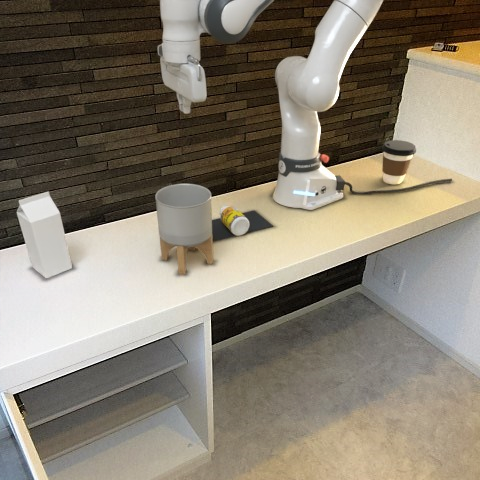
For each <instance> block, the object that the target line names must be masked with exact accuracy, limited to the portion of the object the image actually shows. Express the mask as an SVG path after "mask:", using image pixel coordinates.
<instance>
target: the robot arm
mask: <svg viewBox="0 0 480 480" xmlns="http://www.w3.org/2000/svg"><path fill="white" fill-rule="evenodd" d="M273 2H275V0H159V9H160V11H159V12H160V19H161V22H162V26H163V28H162V29H163V30H162V37H161V39H162V43H161V44H159V45H157V55H158V56H159V57H160V58H159V61H160V62H159V63H160V70H161V78H162V81H163V84H164V86H166V87H167V88H169V89H171V90H172V91H174V92H176V98H177V101H178V104H179V105H178V106H179V111H180V112H182V113H183V114H185V115H187V114H190V113H191V106H192V103H203V102H205V101H206V99H207V96H208V95H207V82H206V81H207V80H206V73H205V69H204V68H203V66H201V65H200V61H201V34H203V33H207V34H208V35H210V36H212V37H213V39H215V40H216V41H217V42H219V43H222V44H224V45H232V44H236V43H238V42H240V41H241V40H243V38H245V36H246V35H247V34H248V32H249V31H250V29H251V27H252V26H253V24H254V22H255V21H256V19H257V18H258V17H259V15H261V13H262V12H264V10H266V9H267V8H268V7H269V6H270V5H271V4H272V3H273ZM383 2H384V0H333V1H332V3H331V4H330V6H329V8H328V9H327V11H326V12H325V14H324V16H322V19H321V20H320V22H319V23H318V24H317V26H316V28H315V30H314V31H315V32H314V41H313V44H312V46H311V49H310V52H309V54H308V57H307V58H306V57H304V56H300V55H294V56H293V55H292V56H287V57H285V58H283V59H282V60H281V61H280V62H279V63H278V65H277V67H276V69H275V73H274V81H275V84H276V87H277V92H278V101H279V108H280V109H279V110H280V118H281V140H280V151H279V153H278V165H277V166H278V168H277V169H278V176H277V180H276V185H275V189H274V192H273V194H272V200H273V201H274V202H275V203H276V204H278V205H281V206H284V207H287V208H296V209H304V210H307V211H313V210H316V209H319V208H321V207H324V206H327V205H329V204H332V203H334V202H336V201H340V200H341V199H344V192H343V191H344V190H345V186H347V187H349V192H350V193H351V194H353V195H371V194H390V193H400V192H405V191H409V190H414V189H418V188H421V187H425V186H428V185H429V186H430V185H434V184H439V183H447V182H452V181H453V179H452V177H451V178H443V179H435V180H430V181H426V182H422V183H419V184H415V185H411V186H407V187H403V188H396V189H381V190H380V189H377V190H376V189H375V190H367V191H355V190H353V185H352V184H351V183H350V182H348V181H345V179H344V178H343V177H342V176H341V175H338V174H337V175H335V174H334V173H333V172H331V171H330V170H329V169H328V168H327V167H326V166H324V165H323V164H322V162H323V163H325V164H327V163H328V162H329V160H330V157H329V156H328V155H326V154H324V153H323V154H322V153H320V152H319V149H320V148H319V146H320V140H321V139H320V138H321V130H322V129H321V123H320V120H319V116H318V113H322V112H325V111H327V110H329V109H330V108H332V107H333V106H334V105H335V103H336V102H337V100H338V97H339V94H340V79H341V77H342V74H343V71H344V68H345V66H346V64H347V61H348V59H349V58H350V55H351V54H352V52H353V51H354V49H355V48H356V46H357V44H358V43H359V42H360V40H361V39H362V38H363V35H364V34H365V33H366V31H367V30H368V28H369V27H370V25H371V23H372V22H373V21H374V19H375V17H376V16H377V13H378V12H379V10H380V8H381V6H382V4H383Z"/></svg>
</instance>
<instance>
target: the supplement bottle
mask: <svg viewBox="0 0 480 480" xmlns="http://www.w3.org/2000/svg"><path fill="white" fill-rule="evenodd" d="M242 213H243V212H241V211H240V210H239V209H238V207H235V206H233V205H227V204H226V205H223V206H222V207H220V210H219V216H220V217H219V218H220V219H221V221H222V222H223V223H224V225H225V226H226V227H227V228H228V229H229V230H230V231H231V232H232V233H233V234H234V235H237V236H243V235H246V234H247V233H246V232H247V231H248V229H249V220H248V219H247V218H246V217H245V216H244V215H243V214H242ZM245 233H246V234H245ZM237 236H236V237H237Z"/></svg>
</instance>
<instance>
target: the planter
mask: <svg viewBox="0 0 480 480" xmlns="http://www.w3.org/2000/svg"><path fill="white" fill-rule="evenodd" d="M154 198H155V208H156V215H157V216H156V218H157V229H158V235H159V236H158V237H159V243H160V245H159V246H160V254H161V260H162V261H168V260H169V253H170V251H171V250H172V249H173V248H176V256H177V257H176V259H177V268H178V270H177V271H178V275H186V272H187V255H188V251H196V249H197V250H198V251H200V252H201V253H202V254H203V255H204V257H205V260H206V265H213V263H214V248H213V247H214V243H213V242H214V241H213V237H212V220H213V206H212V205H213V204H212V201H213V200H212V192H211V191H210V190H209V189H208V188H207V187H205V186H202V185H199V184H196V183H195V184H194V183H176V184H170V185H167V186H164V187H162V188H160V189H159V190H158V191H157V192H156V193H155V196H154Z"/></svg>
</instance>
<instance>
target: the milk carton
mask: <svg viewBox="0 0 480 480" xmlns="http://www.w3.org/2000/svg"><path fill="white" fill-rule="evenodd" d="M18 204H19V206H18V208H17V210H16V216H17V219H18V222H19V226H20V230H21V233H22V236H23V239H24V243H25V245H26V246H25V247H26V250H27V253H28V257H29V260H30V264H31V267H32V268H33V270H35V272H38V274H40V275H41V276H42V277H43V278H44V279H45V280H46V279H50V278H52V277H54V276H56V275H60V274H62V273H64V272H67V271H69V270H71V269H73V264H72V259H71V254H70V251H69V246H68V242H67V238H66V233H65V229H64V225H63V221H62V216H61V212H60V210H59V208H58V207H57V205H56V203H55V202H54V201H53V199H52V197H51V195H50V191H45V192H42V193H38V194H35V195H32V196H29V197H25V198H23V199H19V200H18Z"/></svg>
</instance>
